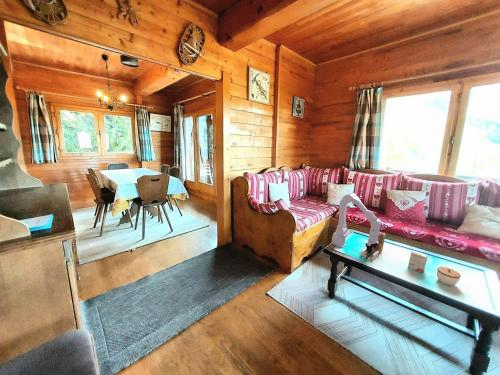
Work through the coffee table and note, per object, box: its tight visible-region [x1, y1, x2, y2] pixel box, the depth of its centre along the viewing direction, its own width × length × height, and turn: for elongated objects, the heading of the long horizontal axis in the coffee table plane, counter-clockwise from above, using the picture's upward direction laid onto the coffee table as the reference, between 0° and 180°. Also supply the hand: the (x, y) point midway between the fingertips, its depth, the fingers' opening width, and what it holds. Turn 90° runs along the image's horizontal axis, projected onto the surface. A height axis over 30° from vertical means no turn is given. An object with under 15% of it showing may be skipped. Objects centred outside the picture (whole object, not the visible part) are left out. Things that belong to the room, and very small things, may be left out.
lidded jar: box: [436, 266, 462, 287], centre depth 136 cm, size 11×11×9 cm
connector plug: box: [365, 248, 376, 259], centre depth 162 cm, size 4×9×6 cm, turn 131°
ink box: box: [407, 250, 429, 274], centre depth 148 cm, size 9×5×12 cm, turn 42°
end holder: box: [361, 247, 379, 261], centre depth 164 cm, size 8×9×4 cm
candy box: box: [375, 231, 386, 253], centre depth 172 cm, size 9×4×15 cm, turn 39°
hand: (370, 251), depth 163 cm, fingers open, 7 cm apart
